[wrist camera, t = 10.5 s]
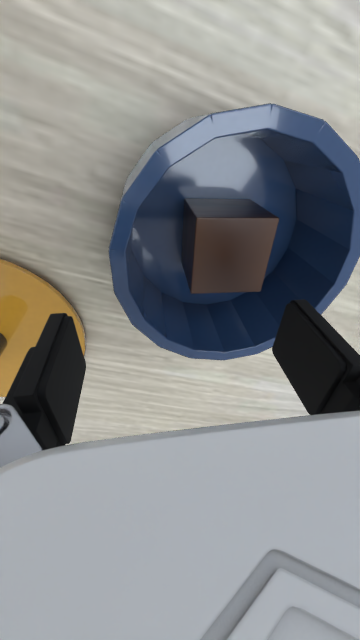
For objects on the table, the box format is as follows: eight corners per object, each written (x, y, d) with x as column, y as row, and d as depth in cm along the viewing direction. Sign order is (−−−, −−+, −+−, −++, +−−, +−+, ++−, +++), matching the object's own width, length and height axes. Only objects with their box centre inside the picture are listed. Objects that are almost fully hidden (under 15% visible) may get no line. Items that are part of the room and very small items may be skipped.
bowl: (99, 284, 20) (86, 337, 15) (156, 60, 13) (167, 17, 8) (243, 323, 25) (270, 375, 20) (344, 170, 18) (429, 187, 12)
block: (181, 263, 20) (190, 294, 16) (184, 198, 17) (196, 217, 13) (239, 262, 20) (260, 291, 17) (250, 199, 17) (280, 217, 14)
